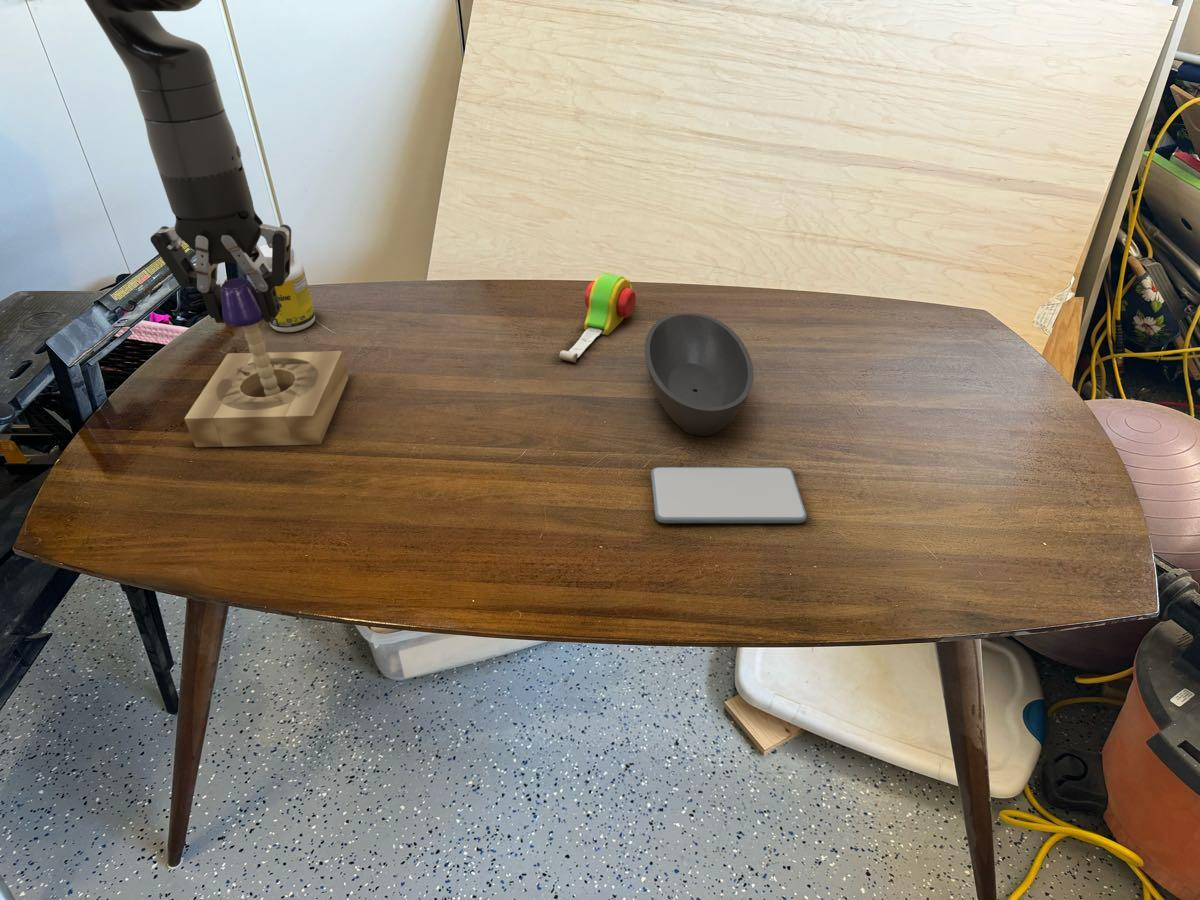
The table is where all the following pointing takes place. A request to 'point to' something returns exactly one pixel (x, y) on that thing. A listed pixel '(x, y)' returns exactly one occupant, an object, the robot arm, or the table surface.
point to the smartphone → (726, 495)
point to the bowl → (698, 371)
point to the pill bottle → (292, 297)
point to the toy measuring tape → (603, 310)
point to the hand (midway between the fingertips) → (247, 318)
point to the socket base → (269, 401)
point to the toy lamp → (249, 326)
